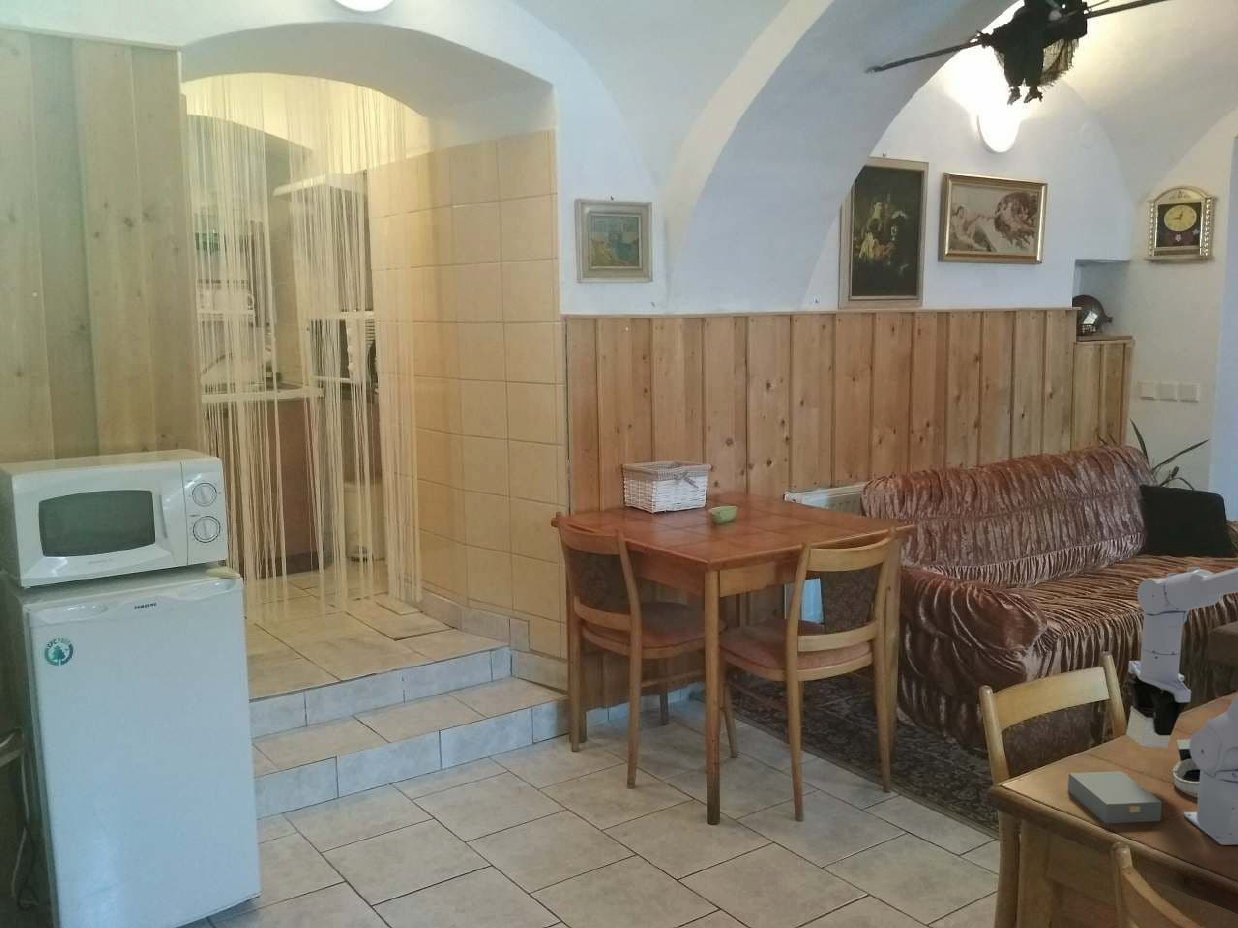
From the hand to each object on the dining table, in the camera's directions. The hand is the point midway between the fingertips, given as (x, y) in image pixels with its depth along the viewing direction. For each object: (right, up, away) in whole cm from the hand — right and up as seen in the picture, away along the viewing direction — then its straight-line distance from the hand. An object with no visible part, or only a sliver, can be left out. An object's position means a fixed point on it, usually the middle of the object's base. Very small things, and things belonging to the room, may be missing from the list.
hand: (1154, 728), depth 173 cm
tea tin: (-1, -2, 0) cm, 2 cm away
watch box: (-10, -11, -7) cm, 17 cm away
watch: (+9, -5, +5) cm, 12 cm away
